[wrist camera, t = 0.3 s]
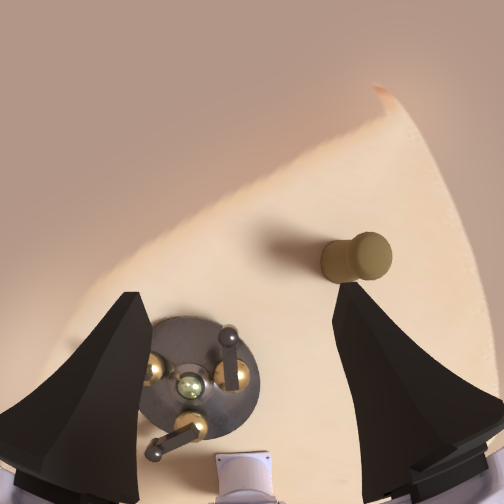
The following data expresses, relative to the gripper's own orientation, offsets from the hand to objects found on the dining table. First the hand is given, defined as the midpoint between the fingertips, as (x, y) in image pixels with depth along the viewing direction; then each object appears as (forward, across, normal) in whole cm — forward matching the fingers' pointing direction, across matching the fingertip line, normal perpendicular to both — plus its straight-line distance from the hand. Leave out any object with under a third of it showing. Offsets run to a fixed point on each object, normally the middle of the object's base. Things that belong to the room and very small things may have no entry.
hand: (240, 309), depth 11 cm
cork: (+24, -13, +17) cm, 32 cm away
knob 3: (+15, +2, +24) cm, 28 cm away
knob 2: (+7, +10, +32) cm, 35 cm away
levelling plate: (+13, +8, +28) cm, 32 cm away
